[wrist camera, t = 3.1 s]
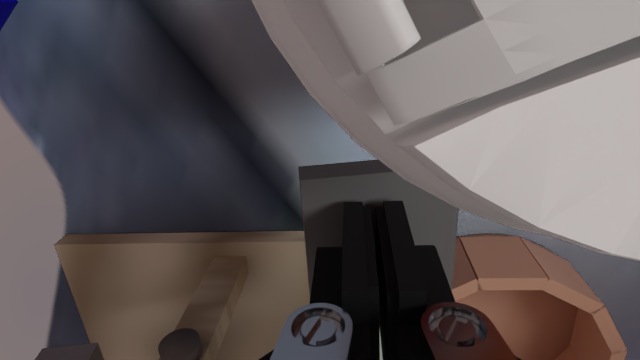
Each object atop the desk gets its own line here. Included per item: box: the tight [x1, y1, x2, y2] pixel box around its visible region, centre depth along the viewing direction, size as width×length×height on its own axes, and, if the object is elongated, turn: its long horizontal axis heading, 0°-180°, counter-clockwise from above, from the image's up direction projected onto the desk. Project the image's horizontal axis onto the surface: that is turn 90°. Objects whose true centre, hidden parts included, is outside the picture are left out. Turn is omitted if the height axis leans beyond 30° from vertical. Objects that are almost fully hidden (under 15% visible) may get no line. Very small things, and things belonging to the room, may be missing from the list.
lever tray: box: [35, 160, 458, 360], centre depth 16 cm, size 17×15×6 cm
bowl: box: [452, 234, 627, 360], centre depth 20 cm, size 10×10×4 cm
